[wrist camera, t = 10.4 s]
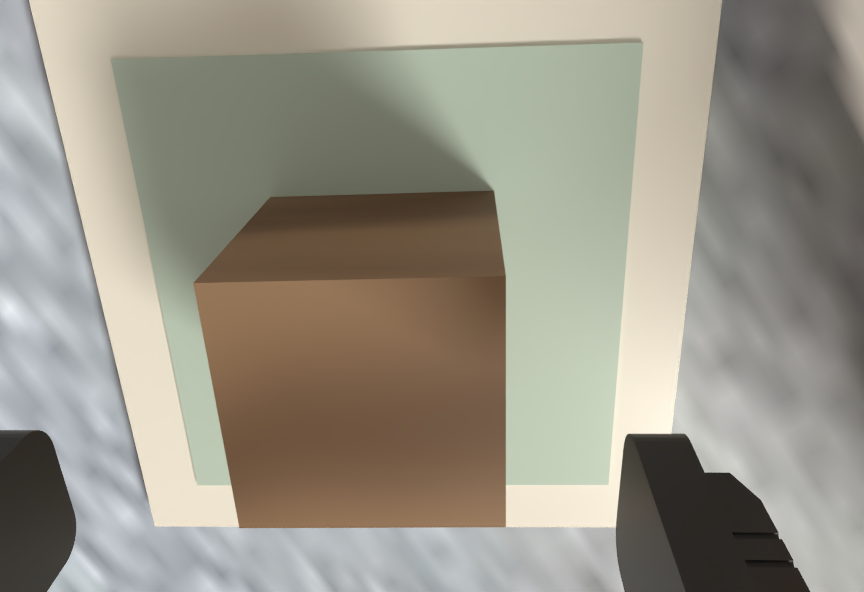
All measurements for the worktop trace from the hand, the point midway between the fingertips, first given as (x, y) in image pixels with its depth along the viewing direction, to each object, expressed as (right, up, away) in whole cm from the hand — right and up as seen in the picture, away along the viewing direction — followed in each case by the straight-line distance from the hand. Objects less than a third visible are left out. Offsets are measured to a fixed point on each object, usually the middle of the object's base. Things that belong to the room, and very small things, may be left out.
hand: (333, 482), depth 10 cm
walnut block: (0, +3, +7) cm, 7 cm away
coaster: (0, +3, +8) cm, 8 cm away
